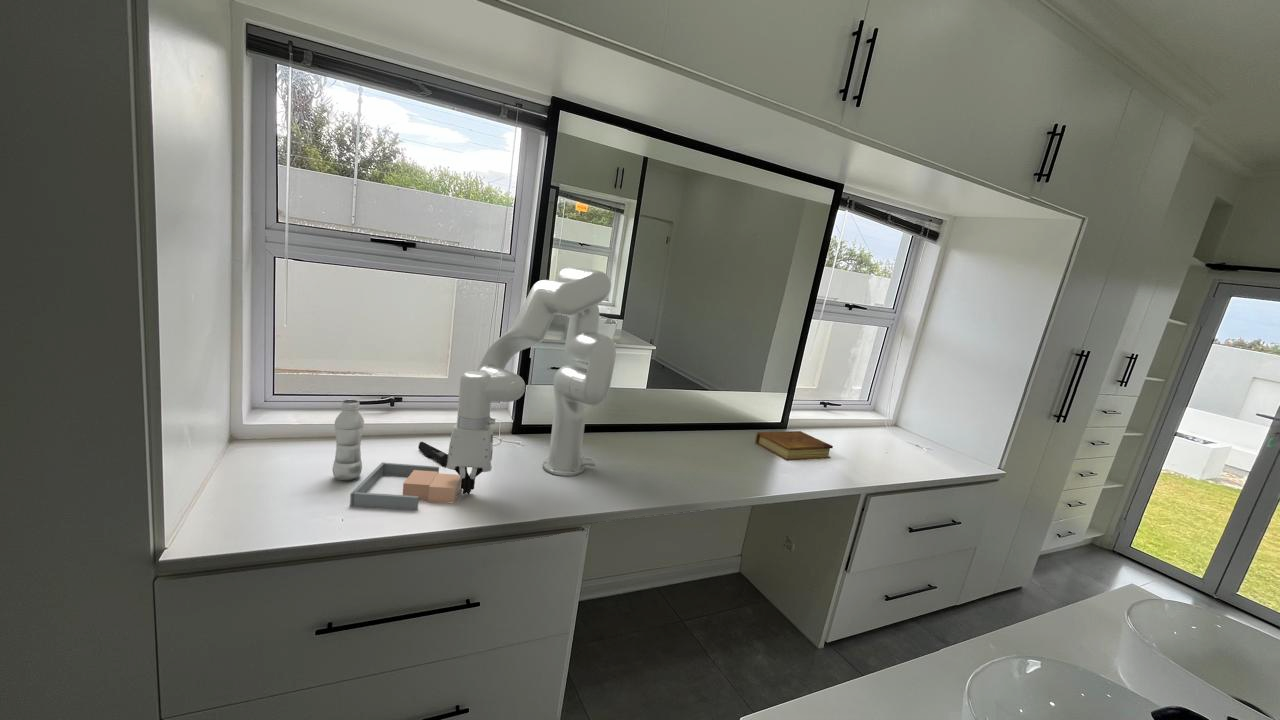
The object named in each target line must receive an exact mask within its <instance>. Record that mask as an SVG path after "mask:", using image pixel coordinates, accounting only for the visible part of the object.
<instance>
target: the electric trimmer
mask: <svg viewBox="0 0 1280 720" xmlns="http://www.w3.org/2000/svg"><path fill="white" fill-rule="evenodd" d="M418 450H419V451H420V452H421V453H423V455H425V456H426V457H427V458H430V457H432V459H434V460H435V461H437V462H439V463H440V464H441V466H442V467H443V468H447V467H446V466H447V463H448V453H445V452H444V451H442V450H440V449H438V448H436V447H434V446H432V445H430V444H428V443H426V442H424V441H420V442H419V443H418ZM444 466H445V467H444Z"/></svg>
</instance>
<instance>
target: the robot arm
mask: <svg viewBox="0 0 1280 720" xmlns="http://www.w3.org/2000/svg"><path fill="white" fill-rule="evenodd" d="M611 287H612V283H611V279H610V278H609V275H607V274H606V273H605V272H603V271H600V270H596V269H589V268H582V267H574V266H571V267H563V268H562V269H561V270H560V271H559V272H558V275H557V280H551V279H542V280H538V281H536V282H535V283H534V284H533V285H532V287H531V289H530V291H529V293H528V295H527V296H526V299H525V301H524V303H523V305H522V307H521V309H520V310H519V313H518V314H517V317H516V319H515V321H514V322H513V324H512V326H511V328H510V329H509V330H507V331H506V332H505V333H503V334H502V335H501V336H500V337H499V338H498V339H497V340H496V341H494V342H493V343H492V344H491V345H490V347H488V349H487V350H486V351H485V353H484V355H483V357H482V359H481V361H480V364H479V366H478V368H477V370H470V371H465V372H463V373H462V374H461V376H460V379H459V380H460V381H459V392H458V402H457V403H458V405H457V417H456V419H457V420H456V423H455V424H454V425H453V428H452V430H451V431H452V432H451V435H450V441H449V445H448V446H449V447H448V452H447V454H448V463H447V466H446V467H445V468H446V469H449V470H452V471H455V472H456V474H457V475H460V477H461V478H462V480H461V490H462V494H463V495H464V494H467V495H470V493H471V491H472V490H474V489H475V485H476V484H475V483H476V482H475V481H476V477H477V476H478V477H479V475H480V474H482V473H487V472H491V471H492V467H493V466H492V459H493V448H494V447H493V446H494V444H493V443H494V436H493V435H494V433H493V427H492V426H491V425H495V424H496V419H495V418H492V417H491V406H492V403H493V402H501V403H510V402H511V403H512V402H516V401H517V400H519V399H520V398H521V397H523V395H524V393H525V391H526V383H525V381H524V379H523V378H522V377H521V375H519V374H517V373H514V372H513V371H509V370H508V369H505V368H506V366H507V365H508V363H509V362H510V360H511V359H512V358H513V357H514V356H515V355H517V354H518V353H520V352H521V351H524V350H526V349H529V348H531V347H532V348H533V347H535V346H537V345H539V344H541V343H543V340H544V339H545V337H546V335H547V333H548V330H549V328H550V326H551V324H552V322H553V320H554V318H555V316H556V315H559V316H564V317H568V316H569V322H568V327H567V332H566V333H567V334H566V339H565V344H564V353H565V356H566V357H567V358H569V360H572V361H574V362H577V363H580V364H583V365H587V368H584V367H581V366H578V365H575V364H568V365H563V366H561V367H559V368H558V370H557V371H556V372H555V375H554V377H553V391H554V392H553V395H554V408H553V416H552V417H553V418H552V426H551V433H550V445H549V451H548V452H549V453H548V458H546V459H544V461H543V462H542V468H543V470H544V471H546V472H547V473H549V474H552V475H556V476H560V477H561V476H564V477H572V476H577V475H580V474H581V473H582V474H583V472H584V471H585V467H586V466H589V467H596V459H592V457H591V456H583V452H582V450H583V440H584V433H585V425H586V417H587V412H586V411H587V408H586V405H588V406H593V407H595V406H596V407H597V406H601V404H603V403H604V402H605V400H606V399H607V397H608V395H609V392H610V389H611V384H612V378H613V374H614V369H615V364H616V357H617V351H616V345H615V342H614V340H613V339H612V338H611V337H609V336H608V335H605V334H601V333H598V331H599V322H600V308H599V305H598V304H600V303H602V302H603V301H604V300H605V299H607V297H608V296H609V295H610V292H611V289H612V288H611ZM468 468H471V472H470V473H469V472H468Z"/></svg>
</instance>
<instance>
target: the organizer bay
mask: <svg viewBox="0 0 1280 720" xmlns="http://www.w3.org/2000/svg"><path fill="white" fill-rule="evenodd" d="M413 470H421V471H435V472H438V473H440V466H435V465H421V464H411V463H410V464H407V463H393V462H381V463H380V464H378V466H377V467H375V469H373V470H372V471H371V473H369V475H368V476H366V478H364V480H362V482H360V483H359V484H358V485H357V487H355V489H353V490H352V491H351V492H350V496H349V498H350V500H349V507H362V508H378V509H379V508H381V509H396V510H397V509H399V510H410V511H411V510H413V511H417V510H418V509H419V500H420V499H419V496H407V495H403V494H391V493H389V494H388V493H373V492H369V490H370V489H372V487H374V486H375V484H376V483H377V482H378V481H379V480H380V479H381V477H382V476H383V475H385V476H396V477H397V476H398V477H409V476H410V474H411V473H412V472H413Z"/></svg>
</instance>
